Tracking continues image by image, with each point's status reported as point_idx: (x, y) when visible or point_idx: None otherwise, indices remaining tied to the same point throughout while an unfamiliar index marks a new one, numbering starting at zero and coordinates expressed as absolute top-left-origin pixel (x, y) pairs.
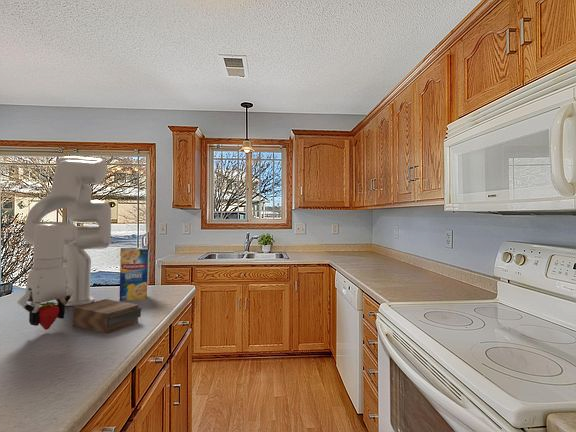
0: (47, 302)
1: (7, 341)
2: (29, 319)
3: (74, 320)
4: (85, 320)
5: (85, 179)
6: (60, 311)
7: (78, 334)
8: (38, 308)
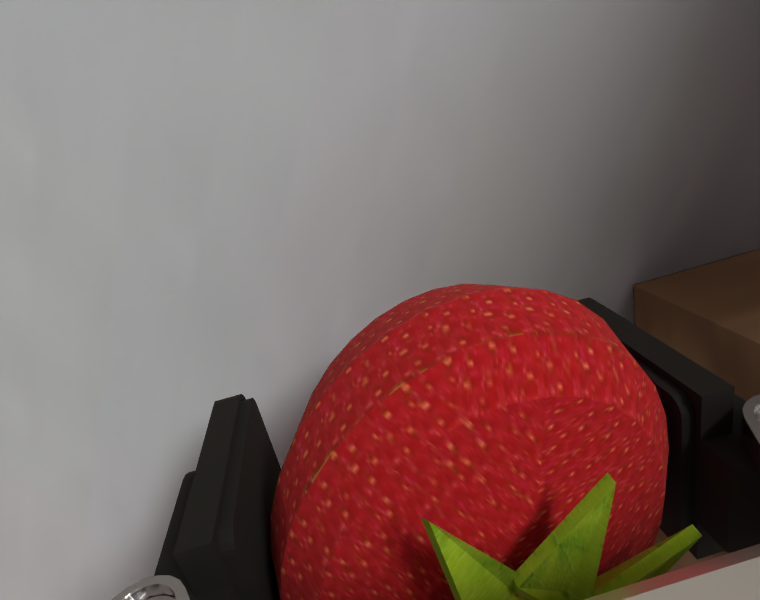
0: (573, 548)
1: (19, 356)
2: (180, 502)
3: (675, 335)
4: None
5: None
6: None
7: None
8: (327, 575)
